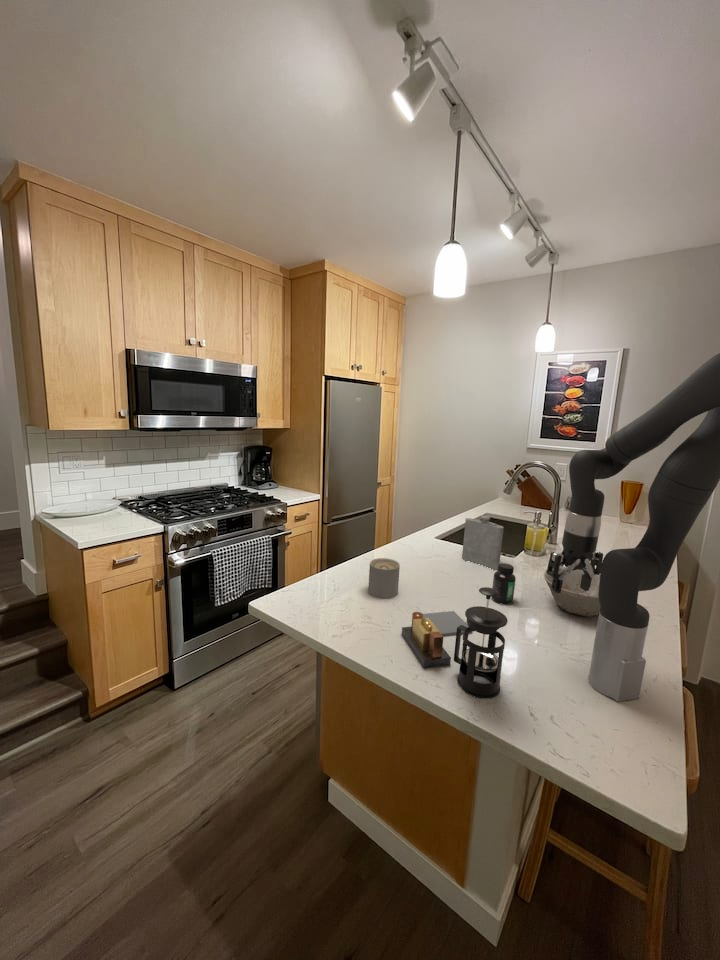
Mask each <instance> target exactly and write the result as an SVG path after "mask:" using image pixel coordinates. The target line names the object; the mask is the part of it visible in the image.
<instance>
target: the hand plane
mask: <svg viewBox="0 0 720 960" xmlns="http://www.w3.org/2000/svg"><path fill="white" fill-rule="evenodd" d="M423 614H424V613H422V612H419V611H414V612H413V613H412V615H411V616H412V617H411V626H403V627H401V636H402V637H403V639H404V640H405V642H406V643H407V645H408V646H409V648H410V649H411V651H412V653H413V655H415V657H416V659H417V660H418V663H420V665H421V666H422V668H423V669H427V668H428V669H431V668H435V667H444V666H445V667H446V666H451V659H452V657H451V656H450V654H449V653H448V652H447V651H446V649H445V648H444V646H443V645H444V636H442V634H441V633H440V632H430V639H429V650H422V649H421V647H420V646H419V644H418V643H417V642H416V640H415V639H414V637H413V636H412V629H413V619H422V618H423Z"/></svg>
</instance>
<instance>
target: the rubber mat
mask: <svg viewBox="0 0 720 960" xmlns="http://www.w3.org/2000/svg"><path fill="white" fill-rule="evenodd" d="M422 614H423V618H429V619H430V620H431V621H432V623H433V624H434V625H435V626H436V628H437V629H438V630H439V631H440V633H441V634H442V636H443V637H447V636H448V637H449V636H456V632H457V627H459V626H460V625H463V626H465V627H469V626H468V625H467V623H466V622H465V620H463V618H461V617H460V615H459V614H458V613H456V611H455V610H452V611H449V610H448V611H439V612H430V613H422ZM473 632H474V631H472V632H469V633H468V634H473ZM461 635H463V631H462V630H461Z"/></svg>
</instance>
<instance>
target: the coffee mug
mask: <svg viewBox="0 0 720 960" xmlns="http://www.w3.org/2000/svg"><path fill="white" fill-rule="evenodd" d="M400 565H401V564H400V562H398V560H395V559H392V558H387V557H380V558H373V559H371V560H370V562H369V569H368V572H369V574H368V588H367V589H368V593H369V595H371V596H372V597H375V598H378V599H383V600H385V599H392V598H395V597H397V596H398V594H399V581H400V568H401V566H400Z"/></svg>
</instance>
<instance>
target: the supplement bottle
mask: <svg viewBox="0 0 720 960" xmlns="http://www.w3.org/2000/svg"><path fill="white" fill-rule="evenodd" d="M514 568H515V566H513V565H511V564H509V563H503V562H501V563H500V564H498V568H497V571H495V572H494V574H493V577H492V578H493V580H492V587H491V588H492V589H495V590H497V591H498V592H499V595H498V596H494V597H491V598H490V599H491V600H493V602H495V603H497V604H501V605H506V606H507V605H511V604H512V603H513V602H514V597H515V596H514V594H515V590H516V589H515V588H516V581H517V578H516V575H515V574H514Z"/></svg>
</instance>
